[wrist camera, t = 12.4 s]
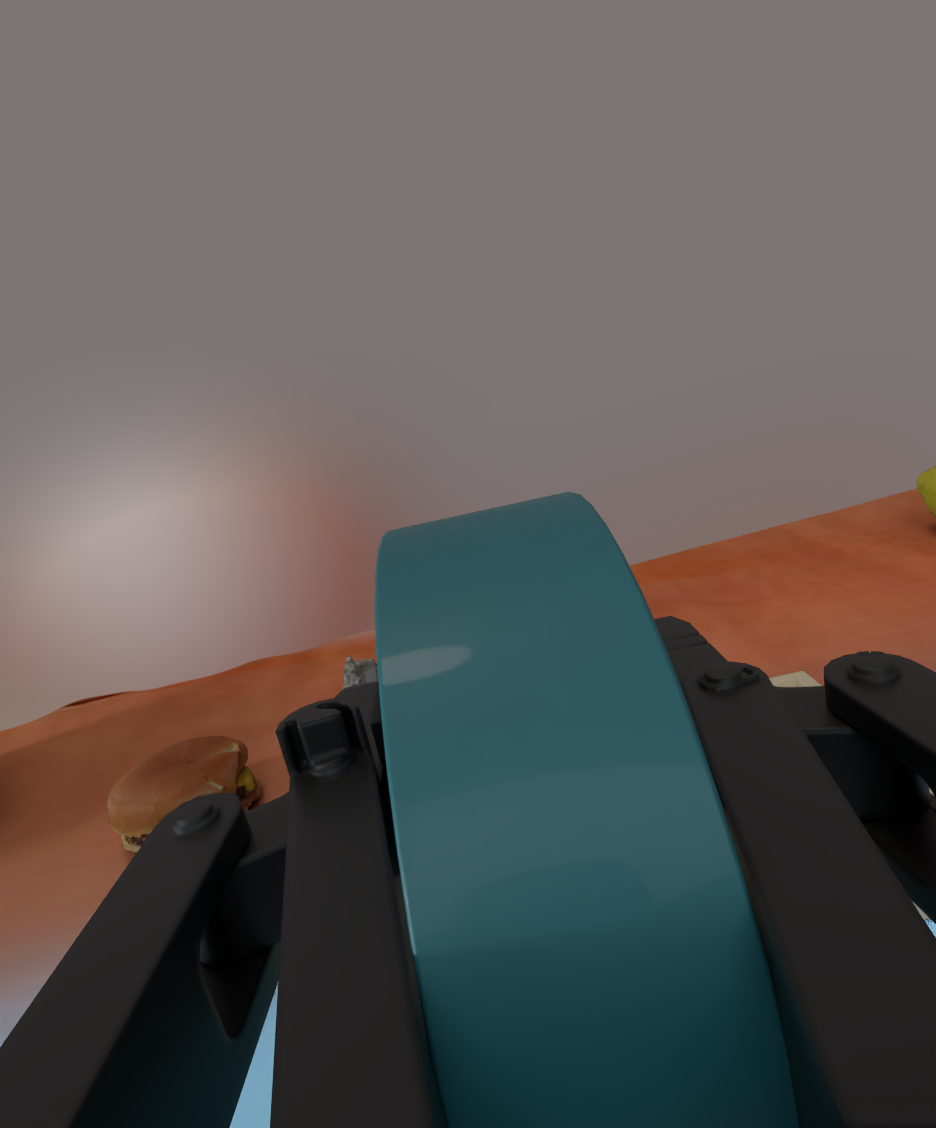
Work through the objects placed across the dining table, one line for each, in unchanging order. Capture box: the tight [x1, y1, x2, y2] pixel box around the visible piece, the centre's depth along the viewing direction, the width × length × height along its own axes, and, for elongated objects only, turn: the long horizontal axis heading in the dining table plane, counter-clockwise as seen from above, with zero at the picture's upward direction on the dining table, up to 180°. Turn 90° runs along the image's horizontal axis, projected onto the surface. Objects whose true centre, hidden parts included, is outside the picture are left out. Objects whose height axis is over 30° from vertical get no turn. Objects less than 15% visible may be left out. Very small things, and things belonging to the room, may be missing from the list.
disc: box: [375, 492, 799, 1128], centre depth 12 cm, size 12×3×12 cm, turn 3°
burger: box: [106, 736, 262, 853], centre depth 48 cm, size 10×9×5 cm
